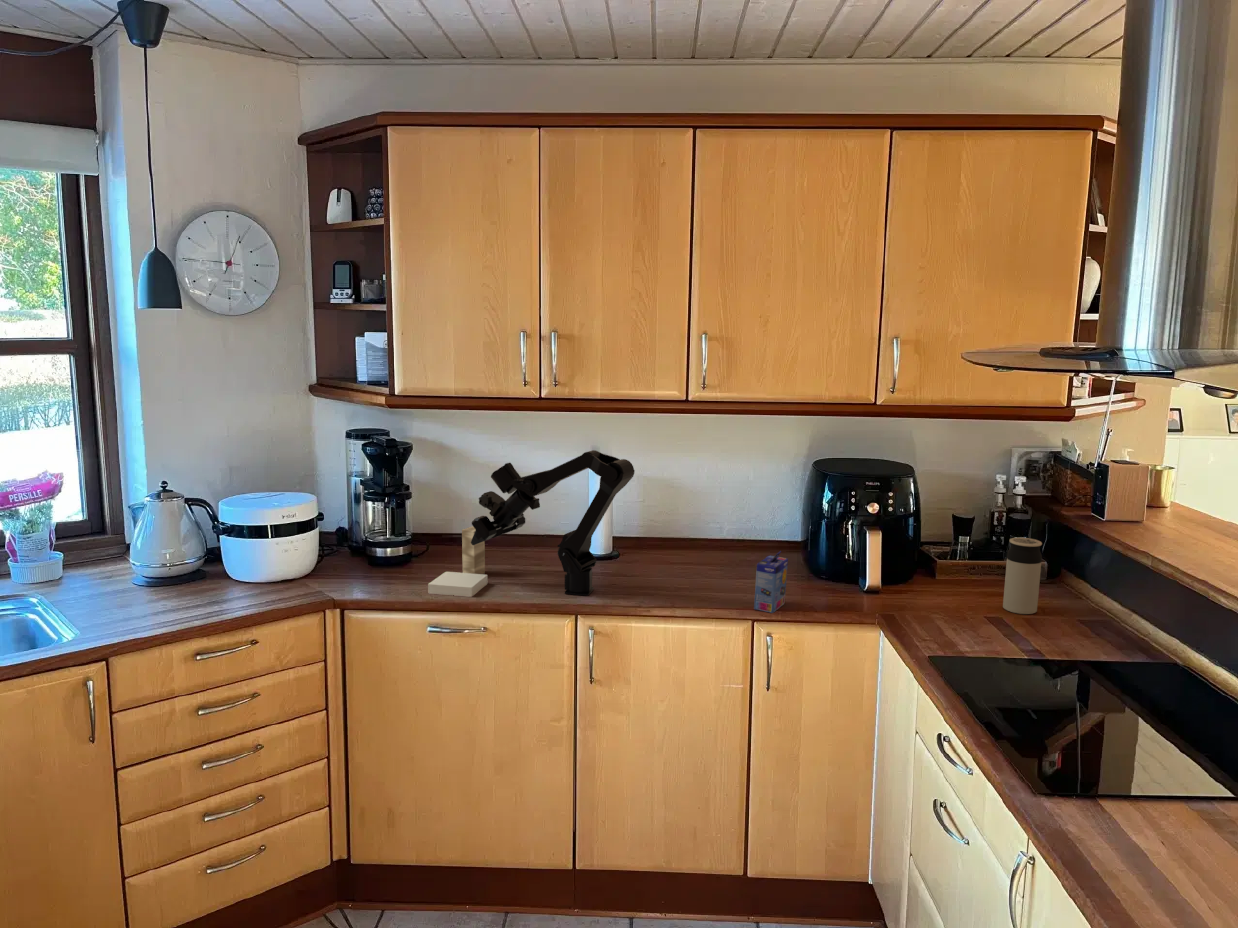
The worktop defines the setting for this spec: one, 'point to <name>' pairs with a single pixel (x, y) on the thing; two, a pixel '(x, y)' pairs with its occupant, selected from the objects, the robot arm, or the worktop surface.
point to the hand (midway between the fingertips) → (481, 540)
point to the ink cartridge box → (770, 583)
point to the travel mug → (1022, 576)
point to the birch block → (472, 553)
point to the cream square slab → (458, 584)
